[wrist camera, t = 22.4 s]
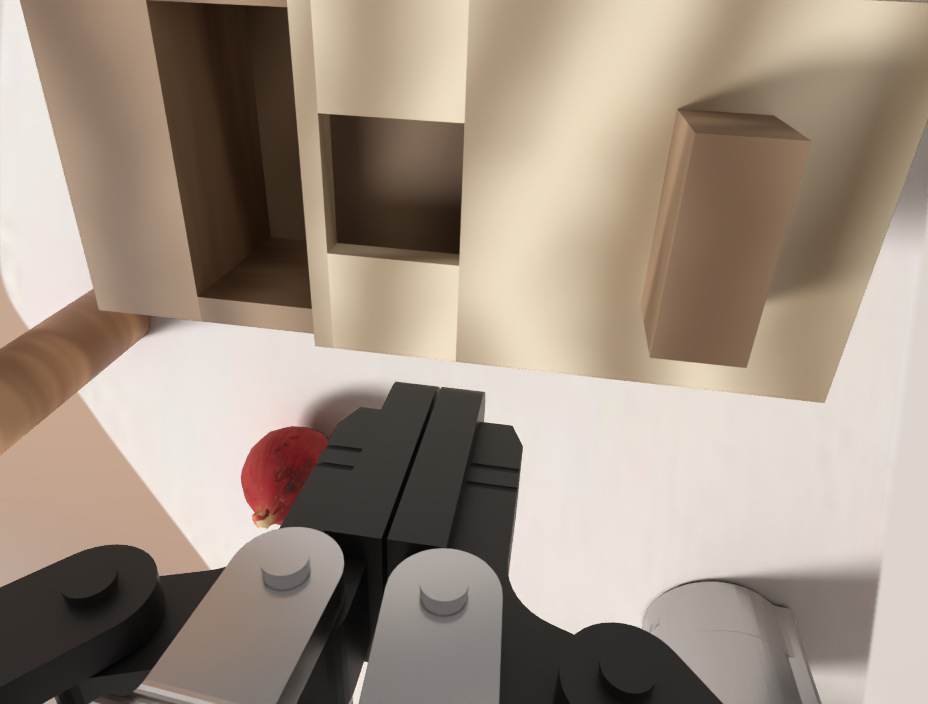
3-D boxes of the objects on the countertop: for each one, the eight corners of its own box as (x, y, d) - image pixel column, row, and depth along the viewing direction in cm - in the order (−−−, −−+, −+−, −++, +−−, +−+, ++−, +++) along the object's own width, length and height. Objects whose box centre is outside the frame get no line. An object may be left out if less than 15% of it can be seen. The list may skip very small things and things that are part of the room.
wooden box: (576, -20, 29) (573, -21, 21) (544, 277, 36) (534, 357, 28) (150, -38, 31) (8, -45, 24) (197, 243, 38) (99, 309, 31)
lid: (949, 3, 20) (1056, 9, 15) (815, 386, 27) (862, 468, 22) (298, -26, 22) (226, -28, 18) (324, 332, 29) (277, 397, 24)
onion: (308, 386, 42) (254, 465, 35) (373, 445, 43) (334, 532, 37) (255, 431, 44) (194, 514, 38) (318, 486, 46) (271, 575, 39)
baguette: (143, 286, 40) (-7, 394, 30) (155, 344, 42) (18, 463, 32) (82, 279, 41) (-87, 383, 30) (96, 336, 43) (-57, 452, 32)
